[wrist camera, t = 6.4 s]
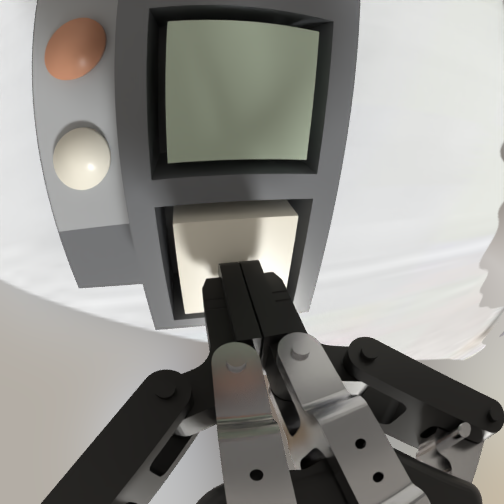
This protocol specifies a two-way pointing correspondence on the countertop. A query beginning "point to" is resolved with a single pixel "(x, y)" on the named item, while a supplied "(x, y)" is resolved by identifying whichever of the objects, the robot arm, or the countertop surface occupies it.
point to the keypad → (155, 141)
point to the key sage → (238, 90)
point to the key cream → (231, 241)
